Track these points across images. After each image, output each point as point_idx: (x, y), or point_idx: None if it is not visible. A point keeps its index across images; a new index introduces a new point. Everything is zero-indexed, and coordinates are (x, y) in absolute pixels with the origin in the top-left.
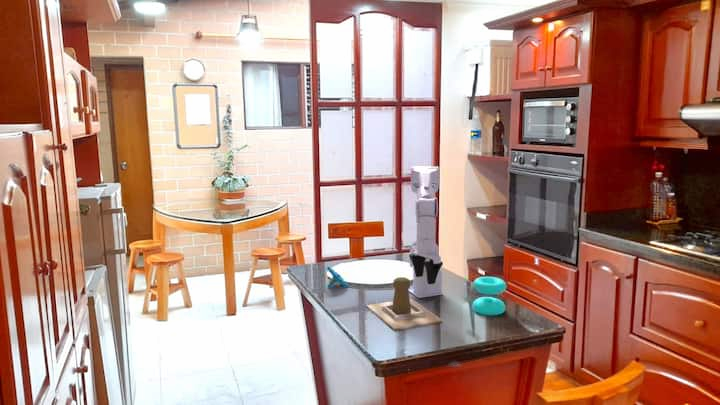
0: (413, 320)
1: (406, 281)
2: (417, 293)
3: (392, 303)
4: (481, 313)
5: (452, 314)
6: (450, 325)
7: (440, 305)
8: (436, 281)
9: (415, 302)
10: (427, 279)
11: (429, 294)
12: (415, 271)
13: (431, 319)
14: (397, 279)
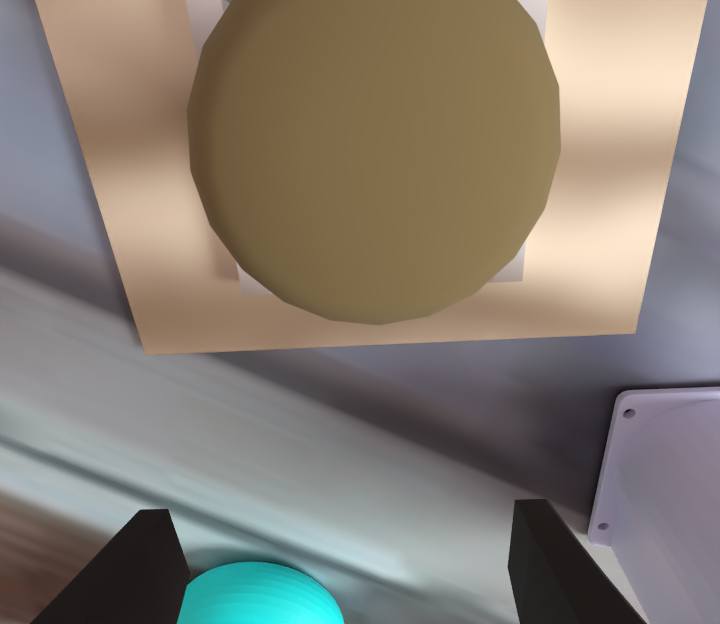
0: (168, 146)
1: (215, 221)
2: (681, 413)
3: (619, 127)
4: (211, 569)
5: (262, 450)
6: (90, 367)
7: (429, 453)
8: (663, 599)
9: (532, 327)
10: (113, 564)
11: (616, 473)
12: (565, 573)
13: (166, 291)
14: (356, 23)
